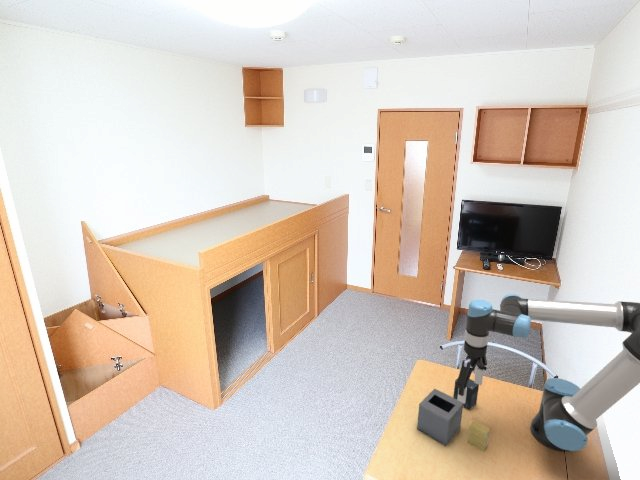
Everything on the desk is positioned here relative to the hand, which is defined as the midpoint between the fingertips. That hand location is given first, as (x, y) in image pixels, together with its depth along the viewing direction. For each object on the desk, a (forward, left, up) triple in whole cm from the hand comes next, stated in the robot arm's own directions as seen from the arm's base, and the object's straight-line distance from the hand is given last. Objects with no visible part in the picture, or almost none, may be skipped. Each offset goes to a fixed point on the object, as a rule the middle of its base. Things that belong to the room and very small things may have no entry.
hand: (469, 392), depth 143 cm
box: (+7, -16, -19) cm, 25 cm away
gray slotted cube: (+8, +5, -18) cm, 21 cm away
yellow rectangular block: (-6, +2, -18) cm, 20 cm away
